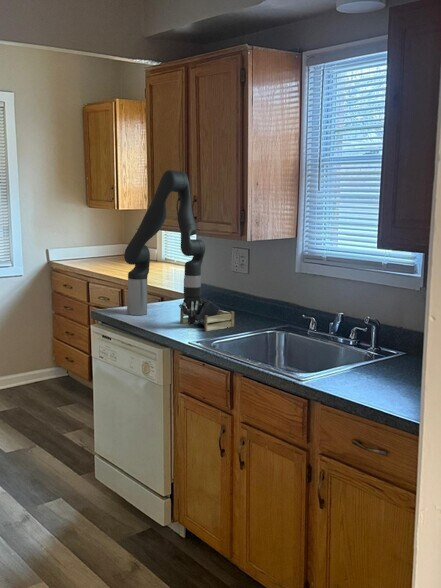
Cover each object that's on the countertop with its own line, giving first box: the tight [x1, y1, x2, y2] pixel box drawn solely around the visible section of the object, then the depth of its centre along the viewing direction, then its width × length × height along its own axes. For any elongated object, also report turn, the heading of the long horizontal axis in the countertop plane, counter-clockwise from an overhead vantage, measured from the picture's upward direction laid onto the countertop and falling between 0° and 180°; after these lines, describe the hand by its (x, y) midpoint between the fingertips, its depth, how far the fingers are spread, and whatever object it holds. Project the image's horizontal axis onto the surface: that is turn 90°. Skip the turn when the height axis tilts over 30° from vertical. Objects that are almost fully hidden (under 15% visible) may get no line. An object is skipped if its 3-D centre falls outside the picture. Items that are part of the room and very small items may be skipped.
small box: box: [195, 297, 221, 327], centre depth 285 cm, size 11×6×10 cm
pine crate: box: [179, 309, 235, 332], centre depth 287 cm, size 18×16×7 cm
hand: (191, 324), depth 281 cm, fingers closed
